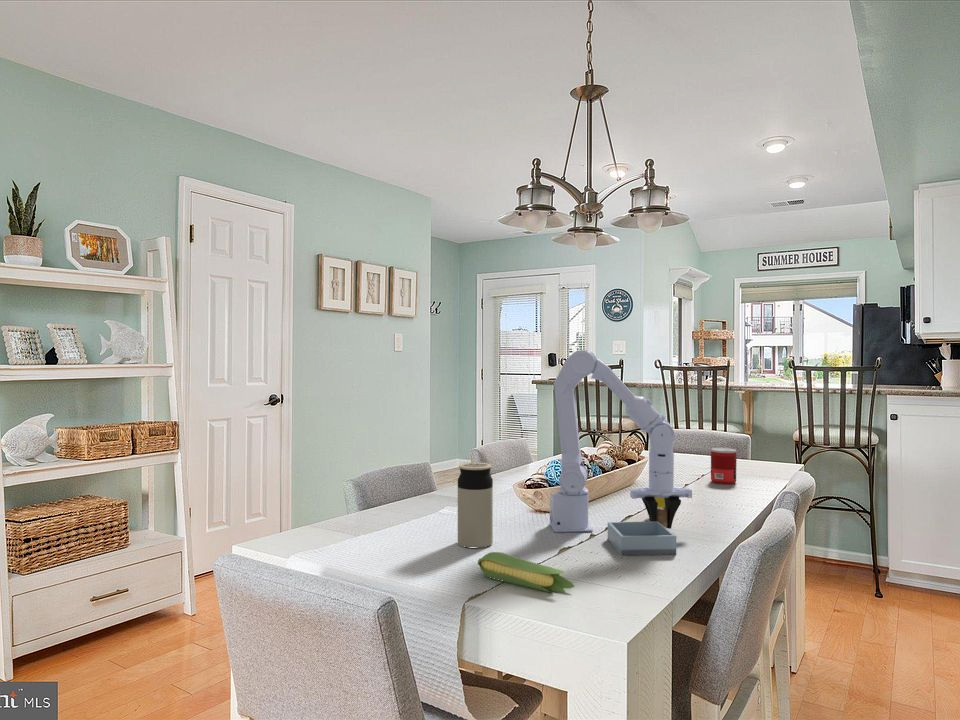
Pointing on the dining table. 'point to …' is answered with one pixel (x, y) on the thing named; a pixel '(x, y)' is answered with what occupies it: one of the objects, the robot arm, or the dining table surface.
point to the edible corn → (523, 572)
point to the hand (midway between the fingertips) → (660, 527)
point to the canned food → (723, 465)
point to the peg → (662, 515)
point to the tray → (641, 538)
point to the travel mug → (475, 505)
